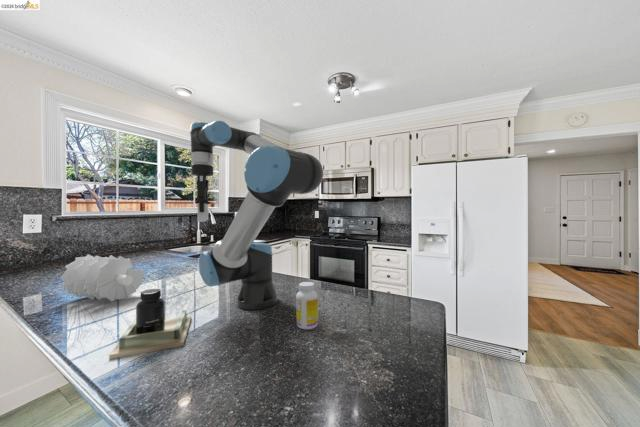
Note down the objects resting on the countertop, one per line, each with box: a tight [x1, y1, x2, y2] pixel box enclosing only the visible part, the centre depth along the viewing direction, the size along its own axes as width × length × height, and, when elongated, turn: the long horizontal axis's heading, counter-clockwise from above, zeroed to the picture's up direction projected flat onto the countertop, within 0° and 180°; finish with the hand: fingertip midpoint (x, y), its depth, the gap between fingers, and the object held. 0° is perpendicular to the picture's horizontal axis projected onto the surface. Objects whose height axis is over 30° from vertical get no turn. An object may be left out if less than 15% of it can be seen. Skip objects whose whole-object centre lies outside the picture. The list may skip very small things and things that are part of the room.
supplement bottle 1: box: [135, 288, 166, 335], centre depth 73 cm, size 7×7×12 cm
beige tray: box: [108, 309, 192, 360], centre depth 73 cm, size 18×16×4 cm
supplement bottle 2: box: [295, 281, 319, 330], centre depth 79 cm, size 7×7×13 cm
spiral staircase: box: [60, 253, 146, 302], centre depth 105 cm, size 18×18×25 cm
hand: (203, 220), depth 98 cm, fingers open, 13 cm apart
